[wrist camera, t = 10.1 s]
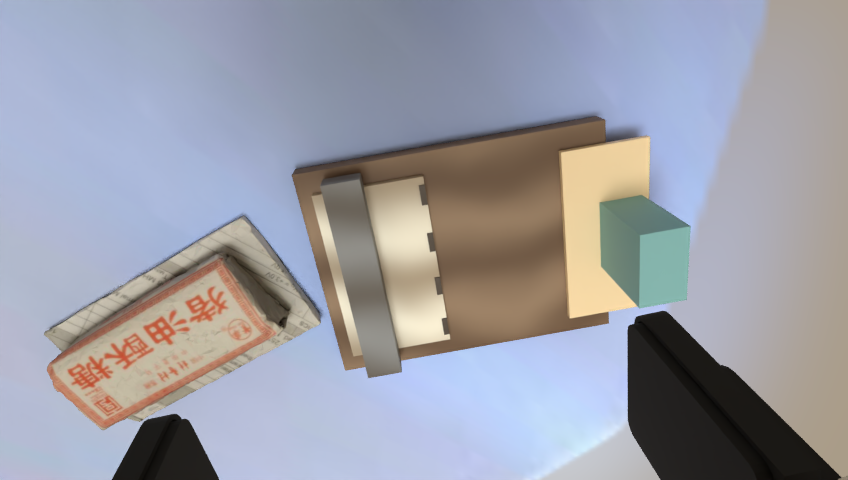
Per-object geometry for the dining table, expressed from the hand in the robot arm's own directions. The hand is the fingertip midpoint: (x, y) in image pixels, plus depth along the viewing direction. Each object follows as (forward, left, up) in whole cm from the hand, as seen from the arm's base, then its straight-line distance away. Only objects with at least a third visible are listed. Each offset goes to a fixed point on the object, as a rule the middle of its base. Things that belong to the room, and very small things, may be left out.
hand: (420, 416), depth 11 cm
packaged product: (+10, -18, -27) cm, 34 cm away
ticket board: (+8, +4, -26) cm, 27 cm away
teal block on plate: (+8, +14, -24) cm, 29 cm away
